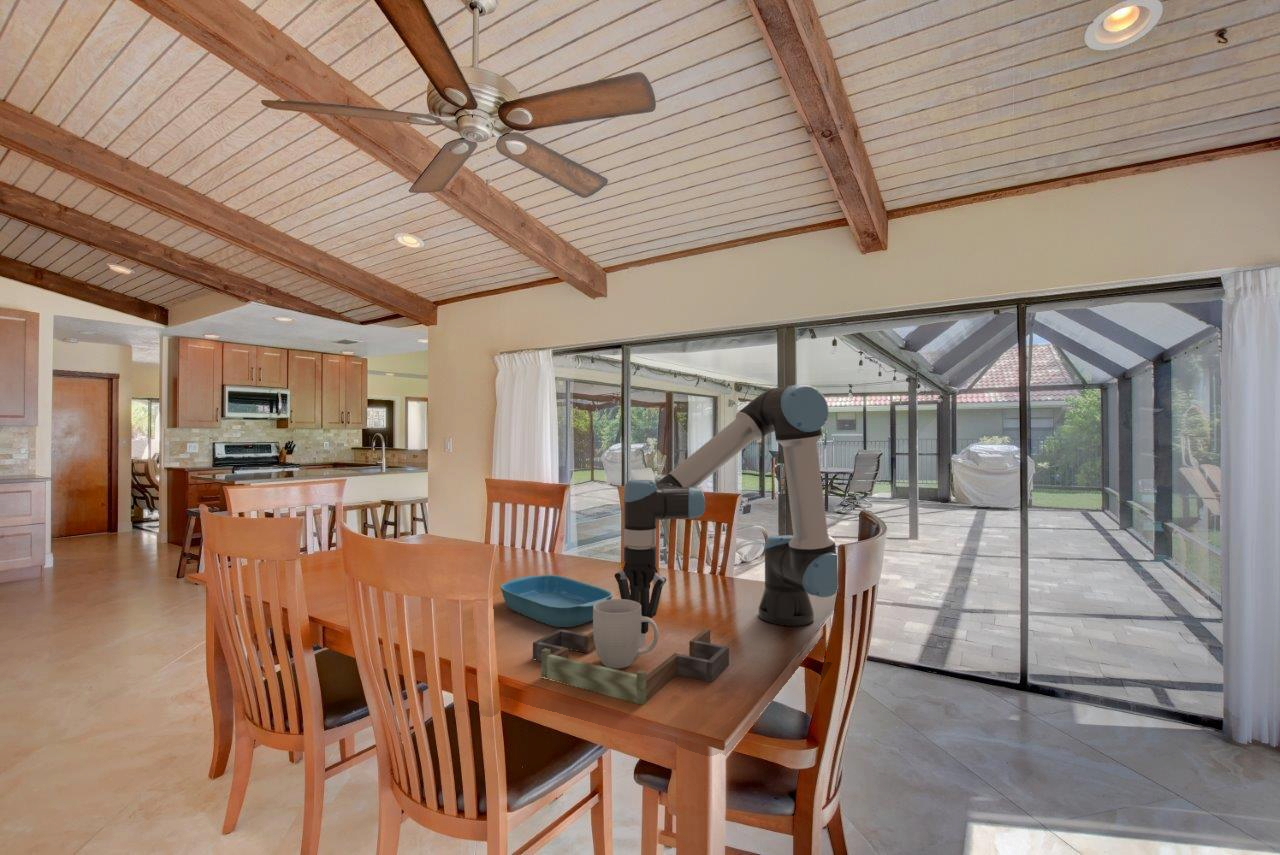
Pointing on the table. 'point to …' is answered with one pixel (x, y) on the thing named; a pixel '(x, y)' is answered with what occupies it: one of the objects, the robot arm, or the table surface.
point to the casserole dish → (553, 599)
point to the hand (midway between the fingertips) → (639, 645)
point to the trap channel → (619, 684)
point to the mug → (619, 632)
